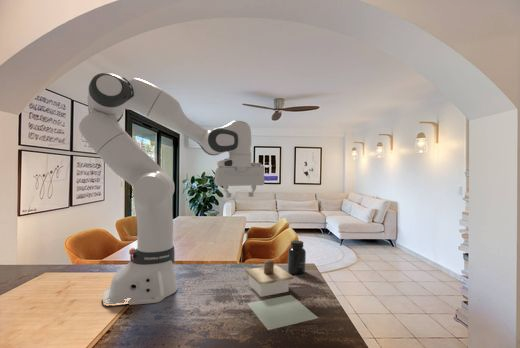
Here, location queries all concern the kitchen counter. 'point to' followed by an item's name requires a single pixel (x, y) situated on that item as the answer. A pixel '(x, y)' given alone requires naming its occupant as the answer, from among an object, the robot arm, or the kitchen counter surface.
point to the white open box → (269, 287)
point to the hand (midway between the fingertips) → (239, 197)
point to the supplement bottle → (296, 258)
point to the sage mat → (281, 312)
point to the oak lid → (268, 273)
